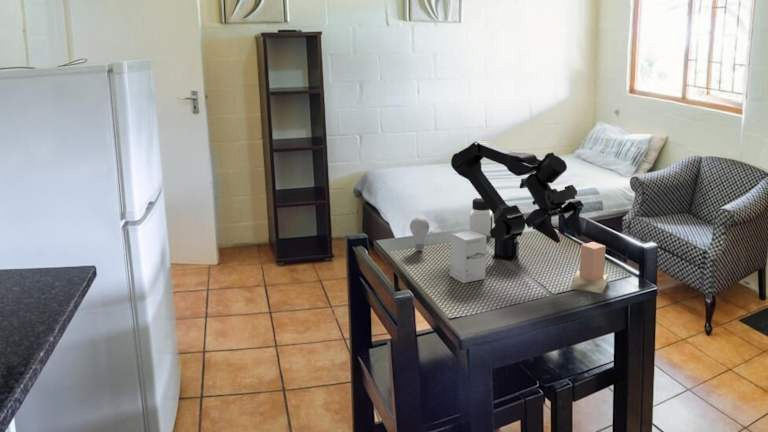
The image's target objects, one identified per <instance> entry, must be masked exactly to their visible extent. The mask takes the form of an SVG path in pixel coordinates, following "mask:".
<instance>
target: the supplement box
mask: <svg viewBox="0 0 768 432" xmlns="http://www.w3.org/2000/svg"><path fill="white" fill-rule="evenodd" d="M449 252H450V255H449V256H450V259H449V260H450V262H449V276H450V277H452V278H453V279H455V280H457V281H459V282H461V283H462V284H466V283H470V282H475V281H480V280H485V279H486V261H487V236H484V235H482V234H480V233H477V232H475V231H470V230H468V231H467V230H466V231H461V232H455V233H454V232H453V233H450V251H449Z"/></svg>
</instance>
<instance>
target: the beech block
mask: <svg viewBox="0 0 768 432" xmlns="http://www.w3.org/2000/svg"><path fill="white" fill-rule="evenodd" d="M579 275H580V270H577V271H576V273H575V275H574V277H573V278H572V279H571V289H572V290H579V291H583V292H584V291H586V292H591V293H592V292H593V293H598V294H599V293H600V294H603V292H604V290H605V289H606V286H607V284H608V280H609V274H605V273H604V276H603V278H601V279H598V280H594V281H590V280H588V279H585V278H583V277H580V276H579Z"/></svg>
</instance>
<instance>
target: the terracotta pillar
mask: <svg viewBox="0 0 768 432" xmlns="http://www.w3.org/2000/svg"><path fill="white" fill-rule="evenodd" d="M606 247H607V246H606V245H604V244H601V243H598V242H595V241H591V242H587V243H584V244H583V243H582V244H581V247H580V248H581V249H580V262H579V271H580V275H579V276H580V277H583V278H585V279H588V280H590V281H594V280H598V279H601V278H603V276H604V274H605V264H606V263H605V260H606Z"/></svg>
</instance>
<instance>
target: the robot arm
mask: <svg viewBox="0 0 768 432" xmlns="http://www.w3.org/2000/svg"><path fill="white" fill-rule="evenodd" d="M484 158H485V159H487V160H490V161H492V162H495V163H497V164H500V165H502V166H503V167H506V169H507V170H508V171H509V172H510V173H511V174H513V175H514V176H516V177H522V176H526V175H528V176H526V177H525V178H520V184H519V189H526V188H527V191H528V192H529V194H530V195H531V197H532V199H533V200H532V205H533V206H536V205H537V207H538V208H535V209H534V210H532V211H531V212H530V213H529V214H528V215H527V216H526V217H525V213H523V212H522V211H521V210H520V208H519V207H518V205H517V204H515V205H513V204H512V205H508V204H507V202H506V201H505V200H504V199H503V197H502V196H501V195H500V193H499V192H498V190H497V189H496V188H495V187H494V186H493V184H492V182H491V181H490V180H489V178H488V177H487V176H486V174H485V173H484V172H483V169H482V160H483V159H484ZM450 164H451V167H452V169H453V171H454V172H456V173H457V174H458V175H459V176H461V177H463V178H464V179H466V180H468V181H469V182H470V184H471V185H472V187H473V188H474V189H475V191H476V192H477V193H478V195H479V197H480V198H482V199H483V200H484V202H485V203H486V204H487V206H488V207H489V209H490V211H492V213H493V214H492V216H493V224H494V226H492V229H491V230H490V235H491V236H490V238H491V239H494V246H493V247H494V248H493V249H494V253H493V254H492V256H491V258H493V259H502V260H507V261H514V260H515V259H516V258H517V257H518V255H519V254H520V253H519V251H520V242H519V241H518V238H519V237H521V236H522V235H523V232H524V231H525V229H526V226H527V228H528V229H530V228H531V229H532V230H533V231H534V230H535V231H537V232H539V233H541V234H542V235H544V236H546V237H547V238H549V240H552V241H553V242H555V243H556V244H559V243H561V239H560V237H559V235H558V233H557V231H556V229H555V228H554V226H553V224H552V218H554V217H555V218H556V217H558V216H560V217H561V218H563V220H562V221H563V222H564V223H565V224H566V225H567V226H568V227H569V228H570V229H571V231H573V233H574V234H576V235H577V237H579V238H581V237H582V236H583V231H582V226H581V221H580V214H581V212H582V211H583V208H585V205H584V203H583V202H582V200H580V199H576V196H577V195H578V190H577V189H576V186H574V185H573V184H569V185H567V186H564V189H560V190H558V189H557V188H553V189H552V187H551V186H550V184H553V183H554V182H555V181H556V180H558V179H559V177H561V176H562V175H563V174H564V173H565V172H566V171H567V168H568V166H567V163H566V161H565V160H564V159H562V157H560V156H557V155H555V154H554V152H548V153H546V154H545V156H544V157H542V159H539V158H538V157H537V156H536V155H535V154H534V153H529V152H515V151H511V150H509V149H506V148H503V147H501V146H498V145H495V144H492V143H489V142H488V141H486V140H478V141H473V143H471V144H470V145H469V146H467V147H465V148H463V149H462V150H460V151H458V152H456V153H454V154H453V155H452V157H451V160H450ZM567 201H568V202H567Z"/></svg>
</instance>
